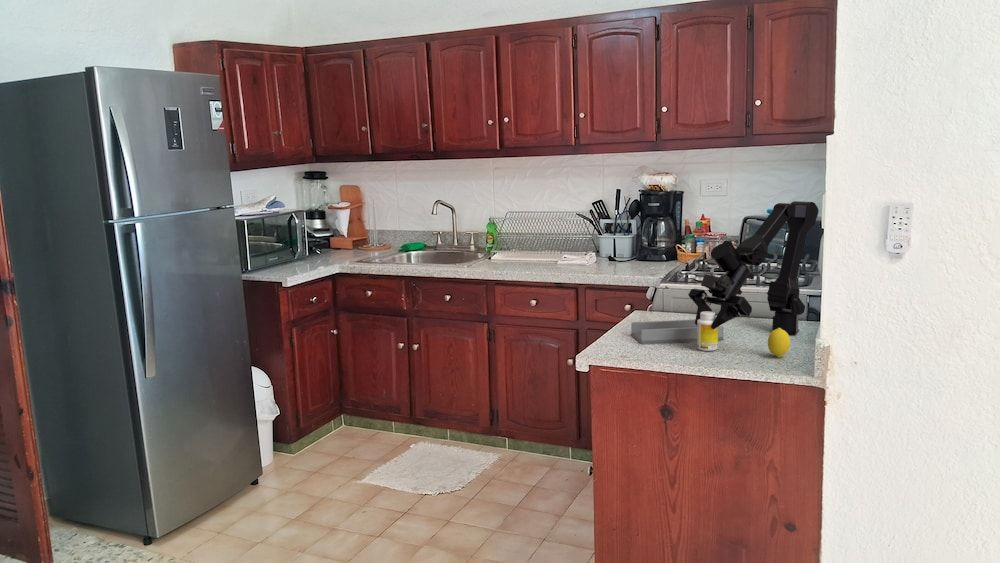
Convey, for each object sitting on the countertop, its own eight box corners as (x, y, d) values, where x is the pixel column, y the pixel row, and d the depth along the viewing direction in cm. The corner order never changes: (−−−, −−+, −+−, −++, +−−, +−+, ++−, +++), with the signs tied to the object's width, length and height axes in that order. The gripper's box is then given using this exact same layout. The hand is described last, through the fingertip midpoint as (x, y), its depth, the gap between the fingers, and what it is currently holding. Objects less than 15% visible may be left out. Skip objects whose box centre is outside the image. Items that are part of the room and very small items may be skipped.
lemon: (763, 355, 209) (764, 325, 208) (783, 354, 209) (784, 325, 208) (772, 360, 204) (773, 330, 202) (793, 359, 204) (794, 329, 203)
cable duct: (708, 331, 238) (709, 318, 237) (723, 340, 226) (723, 326, 226) (631, 335, 235) (631, 322, 235) (641, 344, 224) (641, 330, 224)
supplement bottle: (722, 350, 215) (722, 313, 213) (704, 352, 213) (705, 315, 211) (709, 345, 220) (710, 309, 218) (692, 347, 218) (693, 311, 216)
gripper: (693, 260, 222) (664, 303, 218) (745, 267, 207) (715, 314, 203) (712, 284, 228) (684, 327, 224) (764, 293, 212) (736, 339, 208)
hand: (704, 326), depth 215 cm, fingers closed on supplement bottle, 5 cm apart
